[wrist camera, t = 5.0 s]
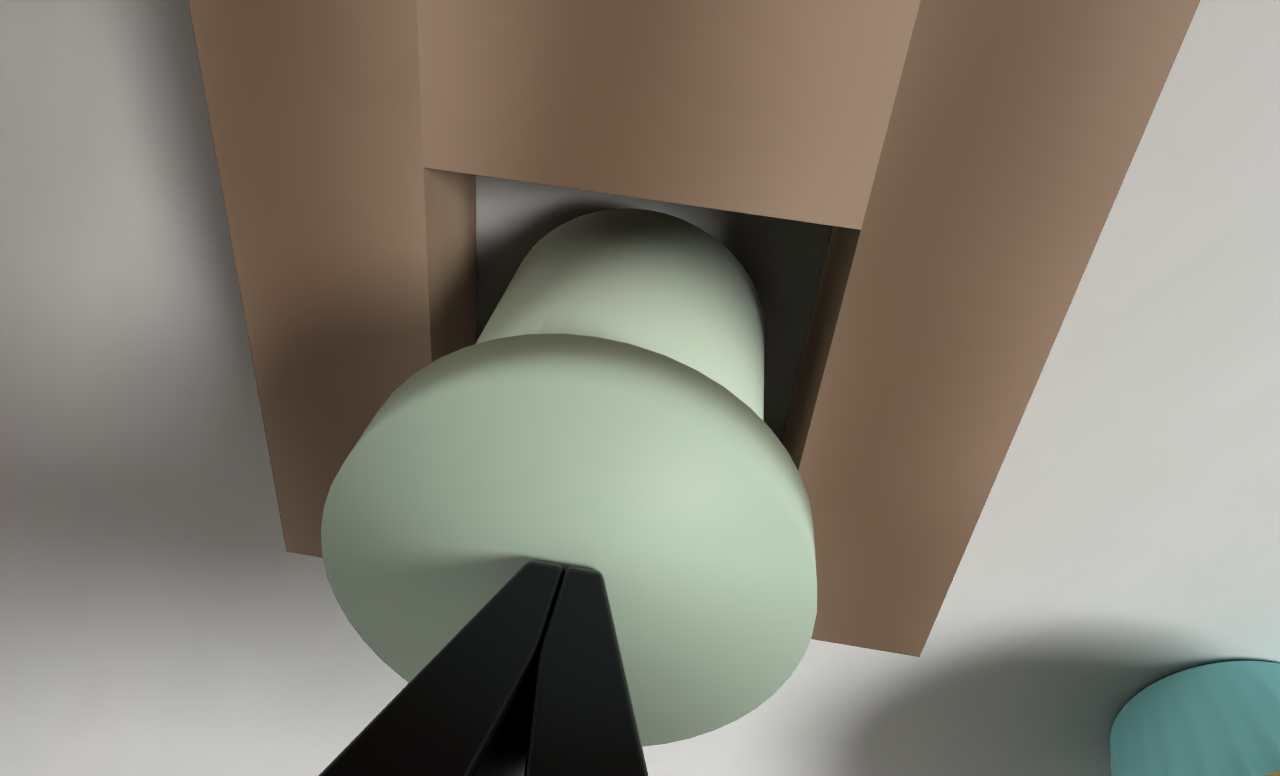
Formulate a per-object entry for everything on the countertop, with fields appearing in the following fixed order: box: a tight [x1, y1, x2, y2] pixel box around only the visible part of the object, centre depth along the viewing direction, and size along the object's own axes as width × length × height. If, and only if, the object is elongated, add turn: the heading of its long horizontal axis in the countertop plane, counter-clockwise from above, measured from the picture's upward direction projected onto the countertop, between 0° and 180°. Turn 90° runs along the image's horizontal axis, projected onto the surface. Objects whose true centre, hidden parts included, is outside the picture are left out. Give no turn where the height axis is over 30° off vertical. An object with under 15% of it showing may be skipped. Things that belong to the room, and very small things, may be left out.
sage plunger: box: [321, 208, 817, 746], centre depth 12 cm, size 6×6×6 cm
